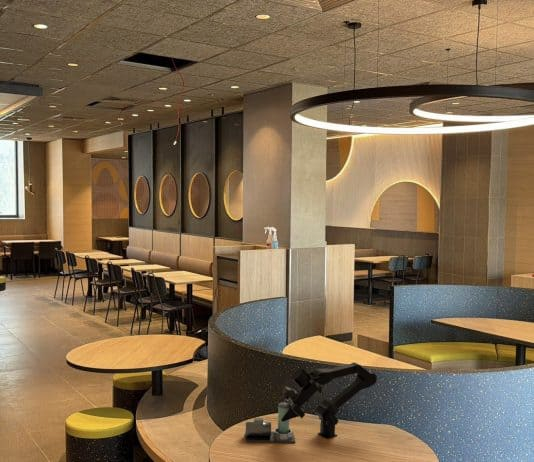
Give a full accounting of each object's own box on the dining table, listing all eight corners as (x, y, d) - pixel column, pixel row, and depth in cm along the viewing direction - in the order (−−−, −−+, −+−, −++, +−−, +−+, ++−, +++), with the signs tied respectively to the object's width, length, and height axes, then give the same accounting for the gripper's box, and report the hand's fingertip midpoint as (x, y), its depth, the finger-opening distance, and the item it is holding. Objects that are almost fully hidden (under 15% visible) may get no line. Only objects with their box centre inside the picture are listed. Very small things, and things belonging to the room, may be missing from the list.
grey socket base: (292, 434, 267) (293, 415, 267) (295, 443, 257) (295, 423, 257) (245, 433, 266) (246, 414, 266) (245, 442, 256) (246, 423, 256)
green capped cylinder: (291, 432, 263) (292, 404, 262) (284, 436, 259) (285, 407, 258) (281, 429, 266) (282, 401, 265) (275, 433, 261) (276, 404, 261)
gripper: (289, 374, 271) (264, 399, 269) (298, 387, 252) (272, 414, 251) (305, 391, 272) (281, 415, 271) (315, 405, 254) (289, 431, 253)
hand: (280, 418), depth 261 cm, fingers closed on green capped cylinder, 5 cm apart
